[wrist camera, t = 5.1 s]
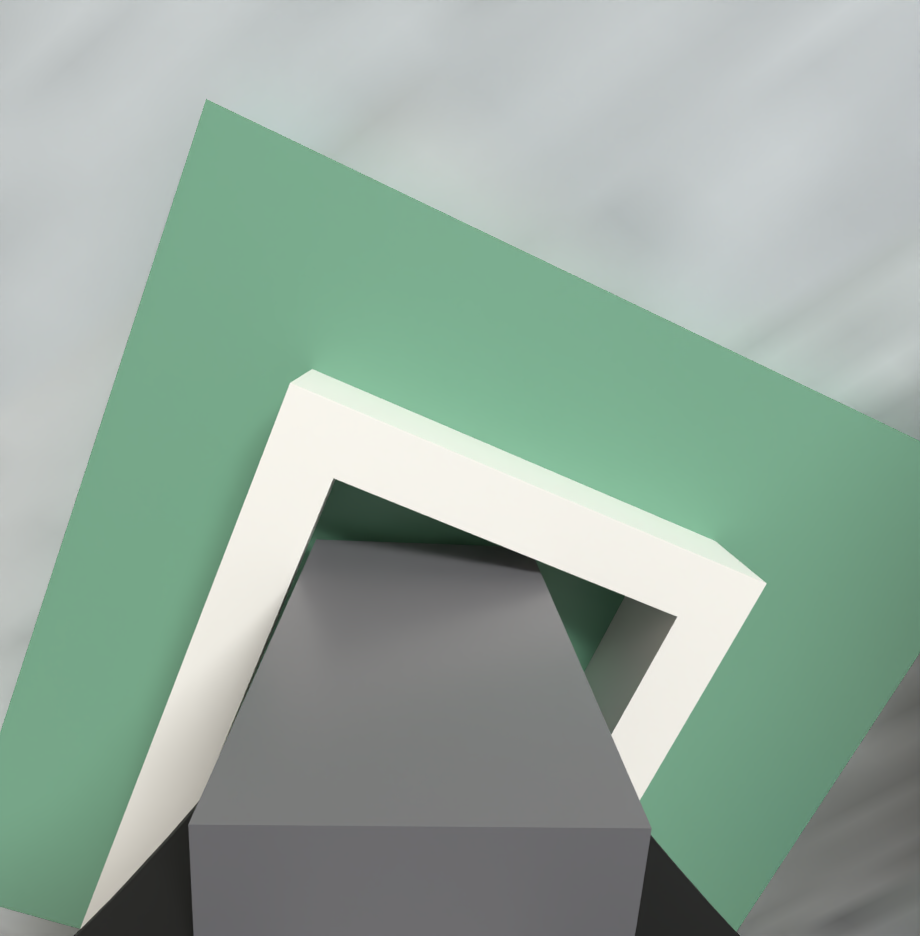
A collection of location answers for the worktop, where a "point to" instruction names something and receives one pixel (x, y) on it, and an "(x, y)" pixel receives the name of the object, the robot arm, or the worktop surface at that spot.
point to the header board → (449, 520)
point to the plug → (418, 763)
